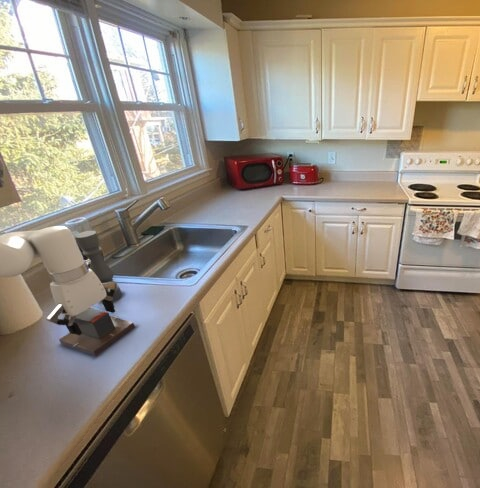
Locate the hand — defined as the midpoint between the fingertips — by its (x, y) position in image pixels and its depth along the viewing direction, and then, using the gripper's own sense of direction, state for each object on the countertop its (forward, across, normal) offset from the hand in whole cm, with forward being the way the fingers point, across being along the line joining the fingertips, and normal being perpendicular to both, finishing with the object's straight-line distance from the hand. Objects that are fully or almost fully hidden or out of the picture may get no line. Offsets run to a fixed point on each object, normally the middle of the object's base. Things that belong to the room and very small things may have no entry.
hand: (95, 322), depth 82 cm
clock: (+3, 0, 0) cm, 3 cm away
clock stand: (+5, 0, 0) cm, 5 cm away
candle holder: (+5, -15, -15) cm, 22 cm away
